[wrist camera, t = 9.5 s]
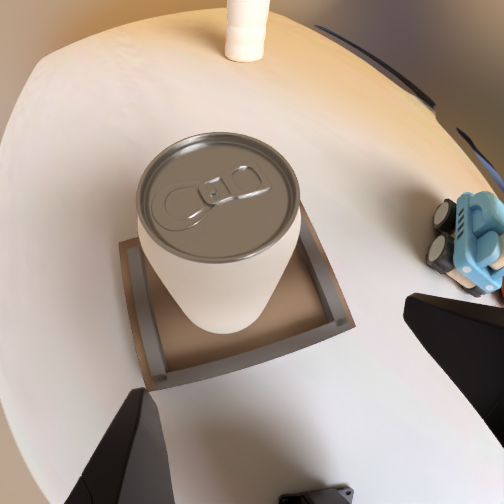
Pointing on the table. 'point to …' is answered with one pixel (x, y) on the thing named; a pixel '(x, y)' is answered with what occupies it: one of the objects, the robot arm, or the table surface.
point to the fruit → (503, 287)
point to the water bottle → (246, 29)
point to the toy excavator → (470, 242)
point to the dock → (238, 343)
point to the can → (219, 225)
